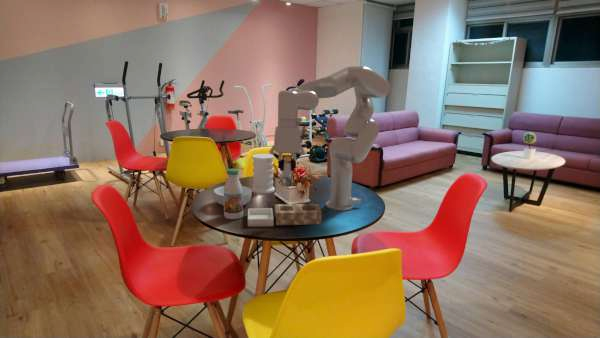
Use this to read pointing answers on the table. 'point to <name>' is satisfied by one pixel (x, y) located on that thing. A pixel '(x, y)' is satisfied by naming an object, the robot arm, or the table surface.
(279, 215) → the socket block
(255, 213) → the tray
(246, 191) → the cereal bowl
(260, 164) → the decorative container
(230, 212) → the milk bottle
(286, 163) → the pin
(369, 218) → the table surface
